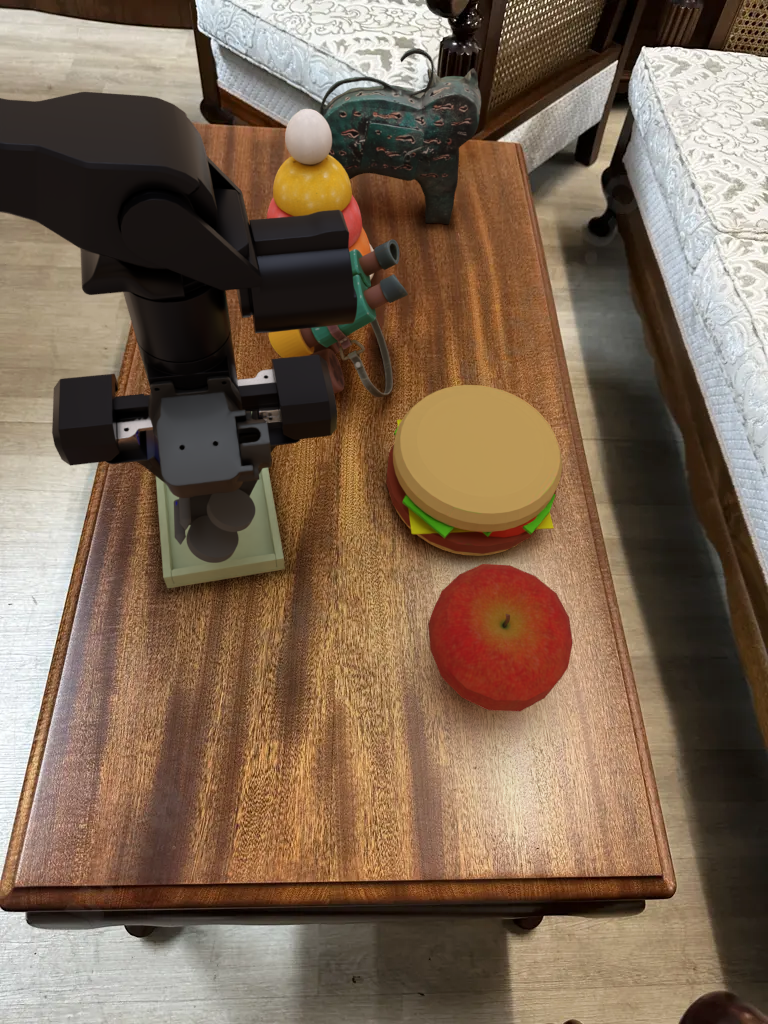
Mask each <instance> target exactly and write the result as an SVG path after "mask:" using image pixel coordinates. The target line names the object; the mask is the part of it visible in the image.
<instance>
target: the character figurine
mask: <svg viewBox="0 0 768 1024" xmlns="http://www.w3.org/2000/svg"><path fill="white" fill-rule="evenodd" d="M250 413H251V411H250ZM251 418H252V413H251ZM238 438H239V435H238ZM239 446H240V442H239ZM240 453H241V451H240ZM241 461H242V458H241ZM242 466H243V465H242ZM257 481H258V480H252V481H244V482H243V483H242V485H241V487H240V488H239V489H237V490H236V491H234V492H229V493H215V494H207V495H199V496H194V497H190V498H179V499H177V500H175V501H174V532H175V539H176V540H177V541H178V542H179V544H180V545H181V544H182V542H183V541H184V539H185V538H186V540H187V545H188V547H189V549H190V551H191V552H192V553H193V554H194V555H195V556H196V557H197V558H199V559H201V560H203V561H206V562H210V563H219V562H223V561H225V560H227V559H229V558H230V557H231V556H232V555H233V553H234V551H235V549H236V547H237V545H238V541H239V537H238V533H237V532H238V531H241V530H244V529H246V528H247V527H248V526H249V525H250V523H251V522H252V520H253V518H254V516H255V505H254V502H253V500H252V499H251V498H250V495H251V493H252V491H253V489H254V487H255V485H256V483H257ZM189 525H191V526H190V528H189V530H188V533H187V537H186V535H185V530H186V529H187V528H188V526H189Z"/></svg>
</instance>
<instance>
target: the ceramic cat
mask: <svg viewBox="0 0 768 1024" xmlns="http://www.w3.org/2000/svg"><path fill="white" fill-rule="evenodd" d="M412 55H420V56H424V57H425V58H426V59H427V60H428V61H429V63H430V66H431V67H430V68H427V78H428V80H427V84H426V87H425V88H422V89H420V90H419V89H418V90H415V91H414V90H410V89H408V88H406V87H403V86H400V85H397V84H396V85H394V84H389V83H387V82H385V81H383V80H381V79H378V78H376V77H373V76H354V77H348V78H344V79H340V80H338V81H336V82H335V83H333V84H332V85H331V86H330V87H329V88H328V89H327V91H326V92H325V94H324V96H323V98H322V100H321V103H320V106H319V112H318V113H320V114H321V115H322V116H323V117H324V118H325V120H326V121H327V123H328V125H329V127H330V130H331V134H332V146H331V150H330V152H329V154H328V155H330V156H332V157H333V158H335V159H336V160H337V161H338V162H339V163H340V164H341V165H342V166H343V168H344V169H345V171H346V173H347V175H348V177H349V180H350V181H351V180H352V179H353V178H355V177H357V176H359V175H363V174H372V175H378V176H384V177H389V178H392V179H397V180H402V181H406V182H412V181H416V182H417V183H418V185H419V186H420V188H421V191H422V194H423V196H424V204H425V207H424V208H425V209H424V217H425V221H424V223H425V224H444V225H449V224H450V223H451V217H452V213H453V210H454V206H455V205H454V203H455V196H456V190H457V187H458V181H459V166H460V147H462V146H463V145H464V144H466V143H467V142H469V140H471V139H472V138H473V136H474V135H475V134H476V132H477V130H478V127H479V124H480V115H481V108H482V94H481V91H480V88H479V81H478V72H477V71H476V70H475V68H474V67H473V68H471V69H470V70H469V71H468V72H467V74H465V76H458V75H451V76H443V77H440V76H438V74H436V72H435V71H434V69H435V68H434V67H435V65H434V61H433V58H432V56H431V55H430V54H429V53H428V52H426V50H424V49H422V48H420V47H419V48H418V47H417V48H416V47H415V48H414V47H413V48H410V49H407V50H406V51H405V52H404V53H403V54H402V55H401V57H400V59H399V61H400V62H401V63H403V61H405V60H406V59H407V58H408V57H410V56H412ZM357 82H373V83H376V84H379V85H375V86H365V87H364V86H363V87H362V86H361V87H359V86H358V87H351V88H349V89H347V90H346V91H344V92H342V93H340V94H338V95H335V96H334V97H333V98H332V99H331V100H330V101H329V102H328V103H327V104H326V105H325V103H326V101H327V99H328V97H329V96H330V95H331V94H332V93H333V92H334V91H335V90H336V89H337V88H339V87H341V86H343V85H345V84H349V83H357Z"/></svg>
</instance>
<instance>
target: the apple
mask: <svg viewBox="0 0 768 1024" xmlns="http://www.w3.org/2000/svg"><path fill="white" fill-rule="evenodd" d="M427 626H428V637H429V638H428V639H429V650H430V653H431V655H432V657H433V660H434V662H435V665H436V667H437V669H438V672H439V675H440V676H441V678H442V679H443V680H444V682H445V683H446V684H447V685H448V686H449V687H450V688H452V690H454V691H455V693H457V694H458V696H459V697H461V698H462V699H464V700H466V701H467V702H470V703H472V704H474V705H476V706H478V707H480V708H483V709H484V710H487V711H491V712H493V711H494V712H495V711H496V712H522V711H524V710H526V709H527V708H529V707H531V706H533V705H535V704H537V703H538V702H540V701H542V700H544V699H546V697H547V696H548V694H550V693H551V691H552V690H553V689H554V688H555V686H556V685H557V684H558V683H559V681H560V680H561V679H562V678H563V676H564V675H565V673H566V672H567V670H568V668H569V665H570V659H571V655H572V650H573V649H572V648H573V644H574V642H573V636H572V630H571V629H572V628H571V621H570V616H569V614H568V612H567V611H566V609H565V606H564V604H563V602H562V601H561V599H560V597H559V595H558V594H557V592H555V591H554V590H553V589H552V588H551V587H549V586H548V585H547V584H545V583H544V582H543V581H542V580H541V579H539V578H538V577H537V576H536V575H534V574H531V573H529V572H527V571H524V570H522V569H520V568H517V567H515V566H512V565H509V564H495V563H494V564H493V563H492V564H491V563H482V564H481V563H480V564H479V565H477V566H475V567H471V569H468V570H466V571H464V572H461V573H459V574H458V575H457V576H456V577H454V579H453V580H452V581H450V582H449V583H448V584H447V586H445V587H444V588H443V589H442V590H441V592H440V594H439V596H438V599H437V600H436V603H435V605H434V607H433V609H432V612H431V615H430V618H429V620H428V625H427Z"/></svg>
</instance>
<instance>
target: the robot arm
mask: <svg viewBox="0 0 768 1024" xmlns="http://www.w3.org/2000/svg"><path fill="white" fill-rule="evenodd" d="M0 213H2V214H8V215H12V216H15V217H19V218H22V219H26V220H29V221H31V222H35V223H37V224H39V225H41V226H43V227H44V228H46V229H47V230H49V231H51V232H53V233H54V234H56V235H58V236H59V237H61V238H62V239H63V240H65V241H67V242H69V243H71V244H72V245H74V246H75V247H77V248H79V249H80V252H79V253H80V273H81V276H80V277H81V289H82V292H83V293H84V294H86V295H88V296H95V295H105V294H106V295H107V294H117V293H118V294H119V293H123V297H124V301H125V303H126V309H127V311H128V315H129V319H130V321H131V325H132V329H133V332H134V336H135V339H136V343H137V346H138V350H139V353H140V358H141V360H142V365H143V368H144V371H145V374H146V379H147V382H148V386H149V391H150V393H149V394H145V393H138V394H137V393H135V394H128V395H127V394H126V395H118V396H116V393H117V392H118V391H119V382H118V380H117V377H116V374H115V373H106V374H95V375H85V376H74V377H63V378H59V380H58V381H57V383H56V384H55V385H54V387H53V397H52V398H53V401H52V423H51V424H52V425H51V426H52V427H51V434H52V435H51V436H52V439H53V444H54V447H55V450H56V452H57V453H58V456H59V457H60V460H61V461H63V462H64V463H66V464H67V465H69V466H79V465H89V464H96V463H107V464H109V465H119V464H120V465H121V464H127V463H128V464H129V463H137V464H139V465H141V466H142V467H143V468H145V469H147V470H148V472H150V473H151V474H153V475H154V476H155V478H156V477H158V478H159V479H160V480H161V481H163V482H164V483H165V484H166V485H167V486H168V488H169V490H170V491H171V492H172V494H173V495H175V496H177V497H179V498H190V497H194V496H199V495H207V494H215V493H229V492H234V491H236V490H237V489H239V488H240V487H241V485H242V483H243V482H244V481H252V480H260V479H259V474H260V472H261V471H262V469H263V468H268V469H269V468H271V467H272V465H273V462H272V461H273V458H272V453H273V451H274V450H275V449H276V447H277V446H283V445H285V446H286V445H294V444H297V443H299V442H300V441H301V440H307V439H314V438H323V437H331V436H332V435H333V434H334V433H335V432H336V431H337V429H338V406H337V400H336V396H335V394H334V391H333V386H332V382H331V378H330V373H329V369H328V364H327V361H325V360H324V359H323V358H322V357H321V356H320V355H308V356H297V357H286V358H282V357H277V358H271V359H270V362H271V369H261V370H260V371H259V372H257V374H256V376H255V377H249V378H239V379H238V373H237V365H236V358H235V357H236V356H235V350H234V342H233V334H232V328H231V327H232V326H231V321H230V320H231V319H230V311H229V304H228V297H227V296H228V295H227V291H234V290H236V294H237V300H238V306H239V312H240V316H241V318H242V319H247V318H252V324H253V330H254V334H269V333H270V332H279V331H288V330H297V329H306V328H315V327H324V326H333V325H342V324H351V323H353V322H354V321H355V318H356V313H357V295H356V291H355V288H354V285H353V273H352V265H351V258H350V253H349V231H348V228H347V225H346V222H345V219H344V216H343V213H342V212H341V211H340V210H329V211H320V212H316V213H312V214H309V215H304V216H293V217H280V218H268V219H267V218H257V219H249V217H248V212H247V208H246V203H245V199H244V194H243V191H242V189H240V188H239V186H238V185H236V183H235V182H233V180H231V179H230V177H229V176H227V174H226V173H225V172H223V170H221V168H220V167H219V166H218V165H217V164H216V163H215V162H214V161H213V160H212V159H211V158H209V156H208V155H207V149H206V146H205V144H204V141H203V138H202V136H201V133H200V132H199V130H198V129H197V127H196V126H195V125H194V123H193V122H192V120H191V119H190V118H189V117H188V115H187V113H186V112H185V111H184V110H182V109H181V108H180V107H178V106H177V105H175V104H174V103H171V102H169V101H167V100H164V99H162V98H159V97H155V96H149V95H140V94H139V95H137V94H124V93H111V92H110V93H107V92H96V91H95V92H94V91H79V92H75V93H70V94H66V95H61V96H58V97H57V96H55V97H52V98H51V97H50V98H48V99H47V98H46V99H43V100H35V101H34V100H21V99H20V100H19V99H6V98H2V97H0ZM250 411H252V418H251V413H250ZM238 435H239V438H238ZM239 442H240V446H239ZM240 451H241V453H240ZM241 458H242V461H241ZM242 465H243V466H242Z"/></svg>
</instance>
